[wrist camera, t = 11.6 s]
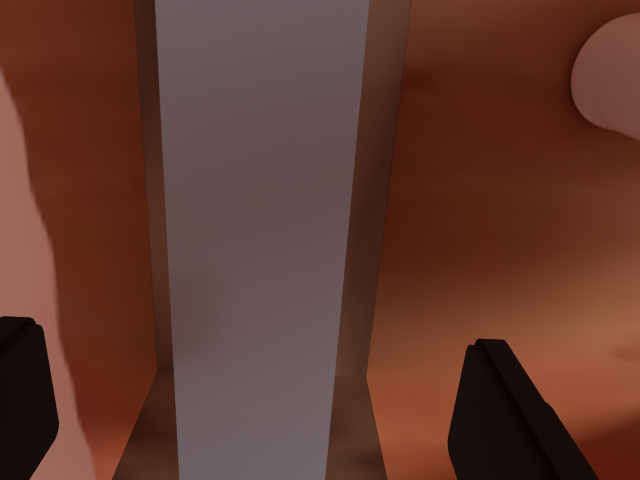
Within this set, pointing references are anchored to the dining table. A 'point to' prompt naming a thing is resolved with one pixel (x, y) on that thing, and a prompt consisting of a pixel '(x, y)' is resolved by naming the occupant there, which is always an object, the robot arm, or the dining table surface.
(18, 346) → the robot arm
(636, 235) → the dining table surface
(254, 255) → the shelf board
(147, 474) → the shelf unit
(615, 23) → the drinking glass
